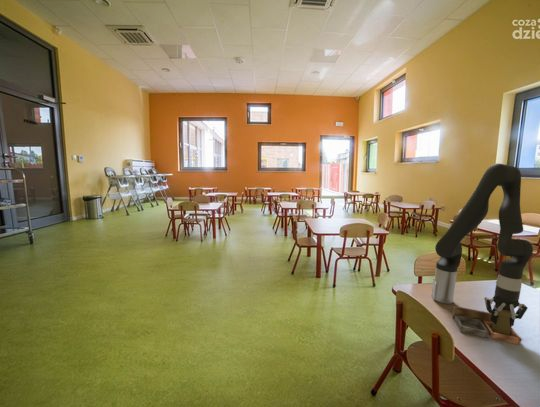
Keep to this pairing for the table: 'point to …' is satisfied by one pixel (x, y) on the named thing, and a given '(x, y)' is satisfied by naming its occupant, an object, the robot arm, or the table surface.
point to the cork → (502, 323)
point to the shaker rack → (481, 325)
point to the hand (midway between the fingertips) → (501, 324)
